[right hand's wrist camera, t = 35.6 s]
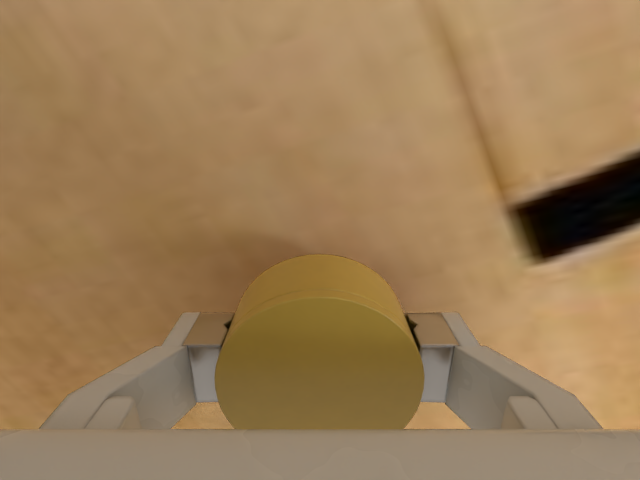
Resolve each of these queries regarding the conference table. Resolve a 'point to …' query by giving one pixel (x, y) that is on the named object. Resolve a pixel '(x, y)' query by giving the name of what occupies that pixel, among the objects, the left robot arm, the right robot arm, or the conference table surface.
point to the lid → (319, 351)
